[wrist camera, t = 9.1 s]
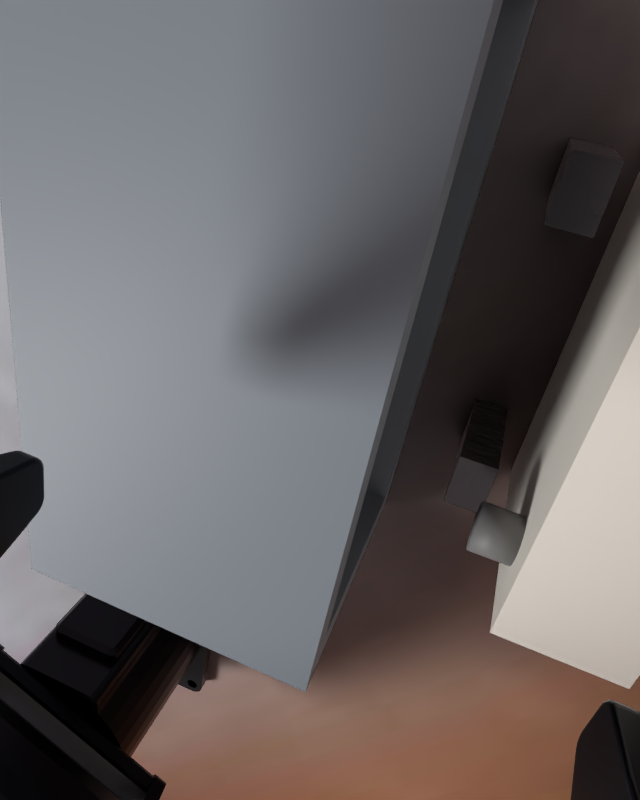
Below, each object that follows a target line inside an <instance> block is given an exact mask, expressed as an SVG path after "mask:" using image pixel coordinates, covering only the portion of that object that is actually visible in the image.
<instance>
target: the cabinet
mask: <svg viewBox="0 0 640 800" xmlns="http://www.w3.org/2000/svg"><path fill="white" fill-rule="evenodd" d="M537 3H538V0H0V203H1V215H2V227H3V238H4V250H5V262H6V274H7V286H8V297H9V309H10V321H11V333H12V345H13V356H14V368H15V380H16V392H17V404H18V415H19V427H20V439H21V451H22V452H25V453H27V454H30V455H32V456H34V457H37V458H39V459H40V460H41V461H42V463H43V466H44V501H43V504H42V507H41V509H40V510H39V512H38V513H37V515H36V516H35V517H34V518H33V519H32V521H31V522H30V523H29V524H28V533H29V545H30V557H31V569H33V570H35V571H37V572H39V573H41V574H44V575H46V576H48V577H50V578H53V579H55V580H57V581H59V582H61V583H64V584H66V585H68V586H70V587H73V588H75V589H77V590H79V591H81V592H84V593H86V594H88V595H90V596H93V597H95V598H97V599H99V600H101V601H104V602H106V603H108V604H110V605H113V606H115V607H117V608H119V609H121V610H124V611H126V612H128V613H130V614H133V615H135V616H137V617H139V618H141V619H144V620H146V621H148V622H150V623H153V624H155V625H157V626H159V627H161V628H164V629H166V630H168V631H170V632H173V633H175V634H177V635H179V636H181V637H184V638H186V639H188V640H190V641H193V642H195V643H197V644H199V645H202V646H204V647H206V648H208V649H210V650H213V651H215V652H217V653H219V654H222V655H224V656H226V657H228V658H230V659H233V660H235V661H237V662H239V663H242V664H244V665H246V666H248V667H250V668H253V669H255V670H257V671H259V672H262V673H264V674H266V675H268V676H270V677H273V678H275V679H277V680H279V681H282V682H284V683H286V684H288V685H290V686H293V687H295V688H297V689H299V690H302V691H304V692H306V690H307V687H308V685H309V683H310V680H311V678H312V675H313V673H314V671H315V668H316V666H317V664H318V661H319V659H320V657H321V654H322V652H323V650H324V647H325V645H326V643H327V640H328V638H329V635H330V633H331V631H332V628H333V626H334V624H335V621H336V619H337V617H338V614H339V612H340V610H341V607H342V605H343V602H344V600H345V598H346V595H347V593H348V591H349V588H350V586H351V584H352V581H353V579H354V577H355V574H356V572H357V570H358V567H359V565H360V562H361V560H362V558H363V555H364V553H365V551H366V548H367V546H368V544H369V541H370V539H371V537H372V534H373V532H374V529H375V527H376V525H377V522H378V520H379V518H380V515H381V513H382V511H383V508H384V506H385V504H386V500H387V497H388V494H389V490H390V487H391V484H392V480H393V477H394V474H395V471H396V467H397V464H398V461H399V457H400V454H401V451H402V448H403V444H404V441H405V438H406V434H407V431H408V428H409V424H410V421H411V418H412V415H413V411H414V408H415V405H416V401H417V398H418V395H419V391H420V388H421V385H422V382H423V378H424V375H425V372H426V368H427V365H428V362H429V359H430V355H431V352H432V349H433V345H434V342H435V339H436V335H437V332H438V329H439V326H440V322H441V319H442V316H443V312H444V309H445V306H446V303H447V299H448V296H449V293H450V289H451V286H452V283H453V279H454V276H455V273H456V270H457V266H458V263H459V260H460V256H461V253H462V250H463V246H464V243H465V240H466V237H467V233H468V230H469V227H470V223H471V220H472V217H473V214H474V210H475V207H476V204H477V200H478V197H479V194H480V190H481V187H482V184H483V181H484V177H485V174H486V171H487V167H488V164H489V161H490V157H491V154H492V151H493V148H494V144H495V141H496V138H497V134H498V131H499V128H500V125H501V121H502V118H503V115H504V111H505V108H506V105H507V101H508V98H509V95H510V92H511V88H512V85H513V82H514V78H515V75H516V72H517V68H518V65H519V62H520V59H521V55H522V52H523V49H524V45H525V42H526V39H527V36H528V32H529V29H530V26H531V22H532V19H533V16H534V12H535V9H536V6H537Z"/></svg>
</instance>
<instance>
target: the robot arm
mask: <svg viewBox="0 0 640 800" xmlns="http://www.w3.org/2000/svg"><path fill="white" fill-rule="evenodd" d="M43 501H44V466H43V463H42V461H41V460H40V459H39V458H37V457H34V456H32V455H30V454H27V453H25V452H22V451H13V452H8V453H4V454H0V558H1V556H2V555H3V554H4V553H5V552H6V550H7V549H8V548H9V547H10V546H11V545H12V543H13V542H14V541H15V540H16V539H17V537H18V536H19V535H20V534H21V533H22V531H23V530H24V529H25V528H26V527H27V525H28V524H29V523H30V522H31V521H32V519H33V518H34V517H35V516H36V515H37V513H38V512H39V510H40V509H41V507H42V504H43ZM3 649H4V647H3V646H2V645H1V644H0V800H159V799H160V797H161V795H162V792H163V790H164V788H165V785H166V783H165V782H164V781H163V780H162V779H160V778H159V777H158V776H157V775H156V774H155V775H151V774H150V773H149V772H148V771H147V770H146V769H144V768H143V767H142V766H141V765H140V764H138V763H137V762H136V761H135V760H134V759H132V758H131V756H132V754H133V753H134V751H135V750H136V748H137V747H138V745H139V743H140V742H141V740H142V739H143V737H144V736H145V734H146V733H147V731H148V729H149V728H150V726H151V725H152V723H153V722H154V720H155V719H156V717H157V716H158V714H159V712H160V711H161V709H162V708H163V706H164V705H165V703H166V702H167V700H168V698H169V697H170V695H171V694H172V692H173V691H174V689H175V688H176V686H177V685H178V684H179V685H181V686H183V687H185V688H188V689H190V690H192V691H200V690H201V688H202V687H203V685H204V683H205V681H206V674H207V666H208V659H209V651H210V649H208V648H206V647H204V646H202V645H199V644H197V643H195V642H193V641H190V640H188V639H186V638H184V637H181V636H179V635H177V634H175V633H173V632H170V631H168V630H166V629H164V628H161V627H159V626H157V625H155V624H153V623H150V622H148V621H146V620H144V619H141V618H139V617H137V616H135V615H133V614H130V613H128V612H126V611H124V610H121V609H119V608H117V607H115V606H113V605H110V604H108V603H106V602H104V601H101V600H99V599H97V598H95V597H93V596H90V595H88V594H86V593H85V595H84V596H83V597H82V598H81V599H80V600H79V601H78V602H77V603H76V604H75V605H74V606H73V607H72V608H71V609H70V610H69V612H68V613H67V614H66V615H65V616H64V617H63V618H62V619H61V620H60V621H59V622H58V623H57V625H56V627H55V628H54V629H53V630H52V631H51V632H50V633H49V634H48V635H47V636H46V637H45V638H44V639H43V641H42V642H41V643H40V644H39V645H38V646H37V647H36V648H35V649H34V650H33V651H32V652H31V653H30V654H29V655H28V656H27V658H26V659H25V660H24V661H23V662H22V663H21V664H19V663H18V662H17V661H16V660H14V659H13V658H12V657H11V656H10V655H8V654H7V653H6V652H5V651H4V650H3ZM571 800H640V712H638V711H637V710H635V709H633V708H631V707H628V706H626V705H623V704H621V703H619V702H616V701H614V700H607V701H605V702H604V703H603V704H602V705H601V706H600V708H599V709H598V710H597V712H596V713H595V714H594V716H593V717H592V719H591V720H590V721H589V723H588V724H587V725H586V727H585V728H584V730H583V731H582V733H581V735H580V737H579V739H578V743H577V747H576V755H575V764H574V774H573V783H572V793H571Z"/></svg>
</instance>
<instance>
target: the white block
mask: <svg viewBox="0 0 640 800" xmlns="http://www.w3.org/2000/svg"><path fill="white" fill-rule="evenodd" d="M466 550H468V551H470V552H473V553H476V554H478V555H481V556H483V557H486V558H489V559H491V560H494V561H497V562H499V568H498V575H497V583H496V591H495V598H494V606H493V613H492V621H491V628H490V633H492V634H494V635H497V636H499V637H502V638H504V639H507V640H509V641H512V642H514V643H516V644H519V645H521V646H524V647H526V648H529V649H531V650H534V651H536V652H539V653H541V654H544V655H546V656H549V657H551V658H554V659H556V660H559V661H561V662H563V663H566V664H568V665H571V666H573V667H576V668H578V669H581V670H583V671H586V672H588V673H591V674H593V675H596V676H598V677H601V678H603V679H605V680H608V681H610V682H613V683H615V684H618V685H620V686H623V687H625V688H628V689H630V688H631V686H632V685H633V684H634V682H635V681H636V679H637V678H638V677H639V675H640V171H639V173H638V176H637V178H636V180H635V183H634V185H633V187H632V190H631V192H630V194H629V197H628V199H627V201H626V204H625V206H624V208H623V211H622V213H621V215H620V218H619V220H618V222H617V225H616V227H615V229H614V232H613V234H612V236H611V239H610V241H609V243H608V246H607V248H606V250H605V253H604V255H603V257H602V260H601V262H600V264H599V267H598V269H597V271H596V274H595V276H594V278H593V281H592V283H591V285H590V288H589V290H588V292H587V295H586V297H585V299H584V302H583V304H582V306H581V309H580V311H579V313H578V315H577V318H576V320H575V322H574V325H573V327H572V329H571V332H570V334H569V336H568V339H567V341H566V343H565V346H564V348H563V350H562V353H561V355H560V357H559V360H558V362H557V364H556V367H555V369H554V371H553V374H552V376H551V378H550V381H549V383H548V385H547V388H546V390H545V392H544V395H543V397H542V399H541V402H540V404H539V406H538V409H537V411H536V413H535V416H534V418H533V420H532V423H531V425H530V427H529V430H528V432H527V434H526V437H525V439H524V441H523V444H522V446H521V448H520V451H519V453H518V455H517V458H516V460H515V462H514V465H513V467H512V470H511V477H510V485H509V492H508V500H507V507H506V509H504V508H501V507H498V506H496V505H493V504H490V503H487V502H485V501H482V503H481V504H480V506H479V509H478V511H477V514H476V516H475V519H474V522H473V525H472V528H471V531H470V534H469V538H468V542H467V547H466Z"/></svg>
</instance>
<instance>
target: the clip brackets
mask: <svg viewBox="0 0 640 800" xmlns="http://www.w3.org/2000/svg"><path fill="white" fill-rule="evenodd" d="M624 162H625V161H624V160H623V159H622V158H621V157H620V156H619V154H618V153H617V152H616V151H615V150H614V149H613V148H612V147H609V146H605V145H601V144H596V143H592V142H587V141H583V140H578V139H574V138H570V139H569V142H568V145H567V147H566V150H565V153H564V156H563V159H562V161H561V164H560V167H559V170H558V172H557V175H556V178H555V181H554V184H553V186H552V189H551V192H550V195H549V197H548V201H547V209H546V217H545V226H548V227H552V228H556V229H560V230H564V231H568V232H572V233H576V234H580V235H584V236H587V237H591V238H594V235H595V233H596V231H597V228H598V226H599V223H600V221H601V218H602V216H603V213H604V211H605V209H606V206H607V204H608V201H609V199H610V196H611V194H612V192H613V189H614V187H615V184H616V182H617V179H618V177H619V174H620V172H621V170H622V167H623V165H624ZM507 415H508V409H507V408H504V407H501V406H498V405H495V404H492V403H488V402H485V401H482V400H479V399H476V400H475V403H474V406H473V408H472V411H471V414H470V417H469V419H468V422H467V425H466V428H465V431H464V433H463V436H462V439H461V443H460V446H459V450H458V453H457V457H456V460H455V464H454V467H453V471H452V474H451V478H450V481H449V485H448V488H447V492H446V495H445V499H444V501H445V502H448V503H451V504H454V505H456V506H459V507H462V508H465V509H467V510H470V511H473V512H476V513H477V511H478V509H479V506H480V504H481V503H482V501H486V499H487V496H488V494H489V491H490V489H491V486H492V484H493V482H494V479H495V477H496V474H497V472H498V469H499V463H500V457H501V451H502V445H503V439H504V433H505V427H506V421H507Z"/></svg>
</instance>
